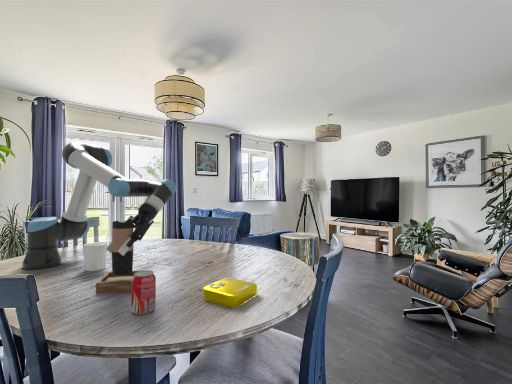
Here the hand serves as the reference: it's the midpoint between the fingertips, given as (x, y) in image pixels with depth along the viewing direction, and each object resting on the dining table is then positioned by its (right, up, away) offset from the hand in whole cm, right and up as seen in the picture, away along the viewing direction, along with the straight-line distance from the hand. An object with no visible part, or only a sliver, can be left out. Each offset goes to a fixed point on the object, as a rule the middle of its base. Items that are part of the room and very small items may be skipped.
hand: (114, 252), depth 103 cm
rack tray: (+1, -14, +3) cm, 14 cm away
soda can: (+19, -15, -19) cm, 30 cm away
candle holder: (-23, -14, +26) cm, 37 cm away
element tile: (+45, -15, -6) cm, 48 cm away
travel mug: (+2, -9, +3) cm, 9 cm away
